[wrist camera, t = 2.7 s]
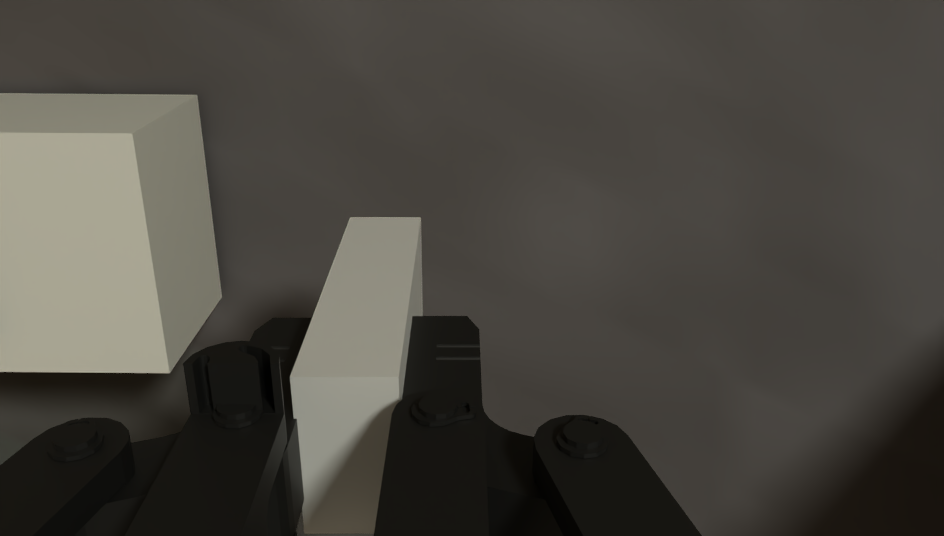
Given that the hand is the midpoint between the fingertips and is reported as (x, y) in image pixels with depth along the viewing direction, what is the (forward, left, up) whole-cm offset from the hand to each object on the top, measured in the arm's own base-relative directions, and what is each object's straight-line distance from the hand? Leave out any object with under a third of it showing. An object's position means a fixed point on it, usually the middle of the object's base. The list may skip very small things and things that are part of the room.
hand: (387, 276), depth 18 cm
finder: (+10, 0, -6) cm, 11 cm away
